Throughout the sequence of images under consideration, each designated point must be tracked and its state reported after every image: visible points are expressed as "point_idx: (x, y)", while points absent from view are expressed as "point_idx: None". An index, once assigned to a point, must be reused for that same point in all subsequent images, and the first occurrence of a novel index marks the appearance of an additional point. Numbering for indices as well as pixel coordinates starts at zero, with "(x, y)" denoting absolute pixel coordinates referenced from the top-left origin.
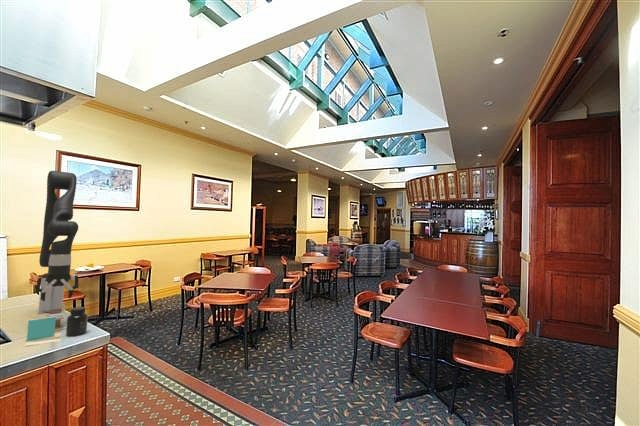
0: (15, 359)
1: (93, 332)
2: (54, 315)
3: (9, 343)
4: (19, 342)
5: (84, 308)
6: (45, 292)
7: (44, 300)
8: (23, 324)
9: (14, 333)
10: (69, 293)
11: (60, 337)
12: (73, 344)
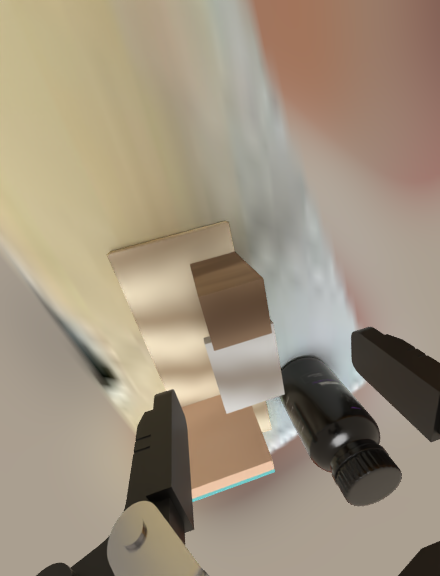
0: None
1: (344, 355)
2: (241, 363)
3: (121, 396)
4: (150, 394)
5: (397, 485)
6: (184, 515)
7: (184, 427)
8: (17, 128)
9: (71, 293)
10: (401, 405)
11: (266, 408)
12: None
